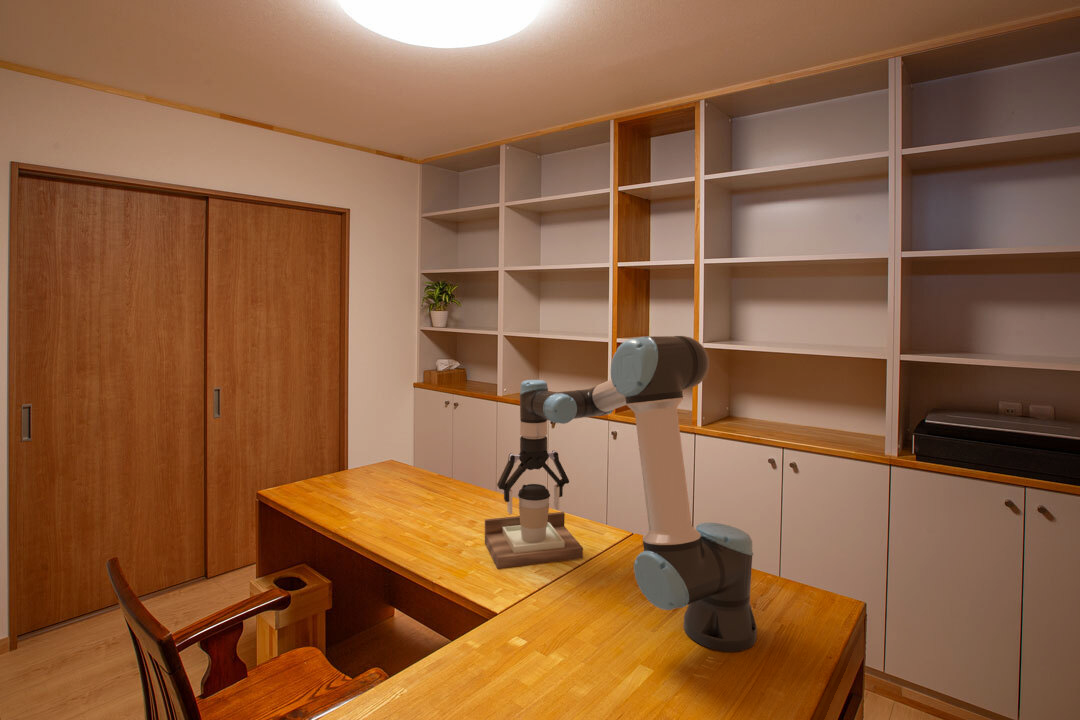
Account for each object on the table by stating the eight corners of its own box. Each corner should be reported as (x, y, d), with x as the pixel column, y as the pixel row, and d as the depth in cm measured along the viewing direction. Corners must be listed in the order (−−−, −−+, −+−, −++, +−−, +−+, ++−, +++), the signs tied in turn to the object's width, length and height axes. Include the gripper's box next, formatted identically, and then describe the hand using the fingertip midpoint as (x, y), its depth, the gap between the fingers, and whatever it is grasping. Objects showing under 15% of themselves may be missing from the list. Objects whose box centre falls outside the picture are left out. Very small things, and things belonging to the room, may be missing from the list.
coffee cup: (552, 533, 172) (552, 482, 171) (546, 545, 164) (547, 492, 162) (521, 530, 174) (522, 480, 172) (514, 542, 165) (514, 490, 164)
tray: (564, 547, 164) (564, 541, 164) (514, 553, 160) (514, 546, 160) (548, 528, 178) (549, 522, 177) (502, 532, 174) (502, 526, 173)
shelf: (582, 558, 164) (583, 533, 164) (497, 568, 158) (497, 543, 157) (562, 534, 181) (563, 511, 180) (484, 542, 174) (484, 519, 173)
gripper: (571, 430, 173) (571, 502, 175) (486, 435, 166) (487, 510, 168) (580, 436, 165) (580, 510, 167) (492, 441, 158) (492, 519, 160)
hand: (533, 510), depth 168 cm, fingers open, 13 cm apart
